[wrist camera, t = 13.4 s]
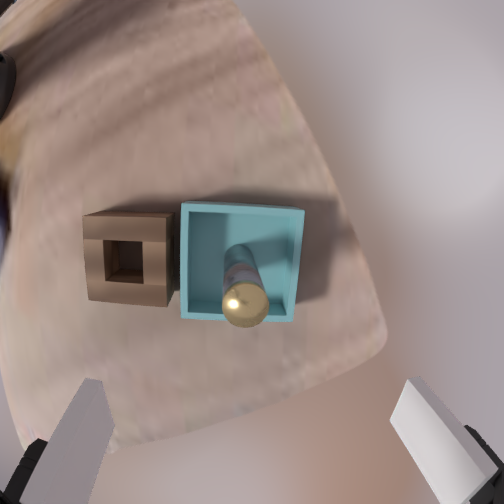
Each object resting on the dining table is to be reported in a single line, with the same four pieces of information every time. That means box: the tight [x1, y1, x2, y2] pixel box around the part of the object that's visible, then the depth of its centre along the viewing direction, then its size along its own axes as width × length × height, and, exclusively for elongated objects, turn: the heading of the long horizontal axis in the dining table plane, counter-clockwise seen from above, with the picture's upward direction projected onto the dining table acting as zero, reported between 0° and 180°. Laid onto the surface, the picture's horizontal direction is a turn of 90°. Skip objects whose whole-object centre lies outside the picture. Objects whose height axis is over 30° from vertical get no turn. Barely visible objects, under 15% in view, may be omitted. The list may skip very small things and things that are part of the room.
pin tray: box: [180, 201, 305, 322], centre depth 34 cm, size 13×13×4 cm
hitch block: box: [83, 211, 175, 307], centre depth 33 cm, size 10×10×5 cm
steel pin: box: [222, 244, 269, 328], centre depth 28 cm, size 4×4×14 cm
